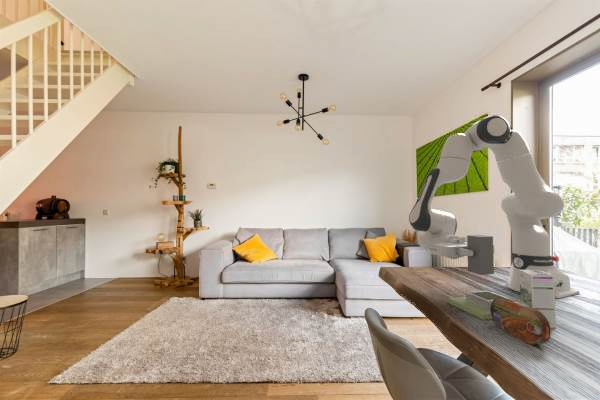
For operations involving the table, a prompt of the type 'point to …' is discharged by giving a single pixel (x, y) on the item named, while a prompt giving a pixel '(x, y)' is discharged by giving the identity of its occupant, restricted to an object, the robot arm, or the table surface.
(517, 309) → the tin
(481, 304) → the deck plate
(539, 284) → the syrup box
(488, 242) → the chute block
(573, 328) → the table surface
